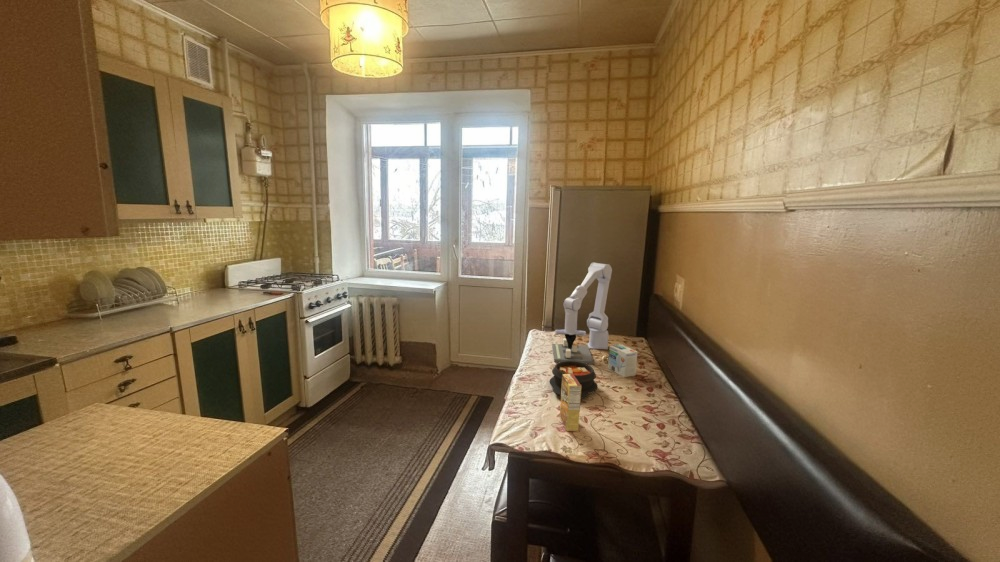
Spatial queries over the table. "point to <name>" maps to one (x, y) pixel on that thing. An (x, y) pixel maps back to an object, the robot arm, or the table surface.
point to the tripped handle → (574, 347)
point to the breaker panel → (571, 353)
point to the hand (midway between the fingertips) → (569, 349)
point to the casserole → (581, 373)
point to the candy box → (570, 402)
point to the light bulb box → (622, 360)
